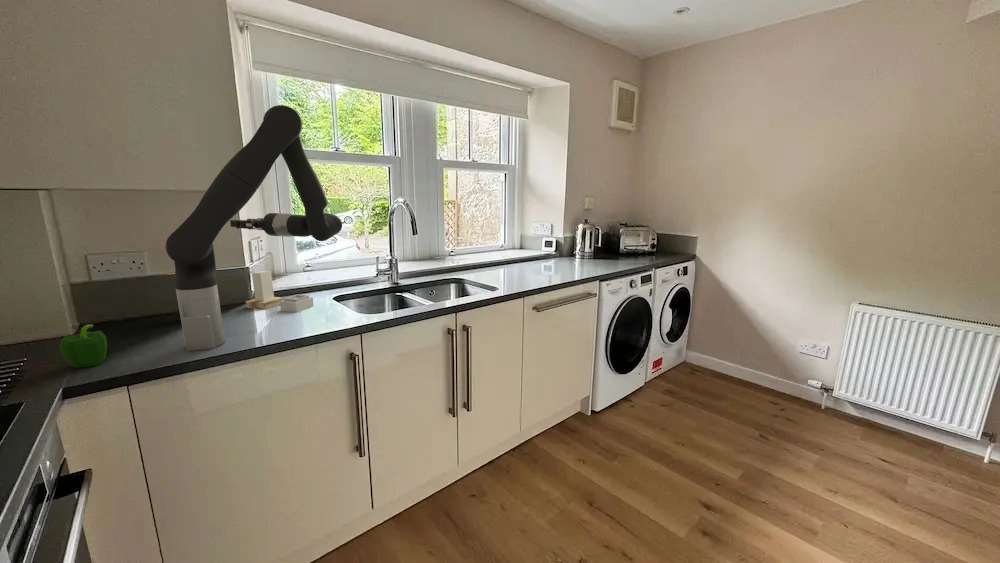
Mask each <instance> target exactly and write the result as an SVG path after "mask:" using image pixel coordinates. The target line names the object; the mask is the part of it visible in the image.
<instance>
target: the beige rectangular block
mask: <svg viewBox="0 0 1000 563" xmlns="http://www.w3.org/2000/svg"><path fill="white" fill-rule="evenodd" d="M283 299H284V301H281V302H280V305H279V306H280V311H281V312H293V313H298V312H301V311H303V310H305V309H309V308H311V307H314V306H315V304H314V297H313V296H310V295H307V294H293V295H291V296H288V297H283Z"/></svg>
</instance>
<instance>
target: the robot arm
mask: <svg viewBox="0 0 1000 563" xmlns="http://www.w3.org/2000/svg"><path fill="white" fill-rule="evenodd" d="M262 119H263V120H262V122H261V123H260V126H259V127H258V129H257V130H256V132H255V133H254V134H253V136H252V138H251V139H250V140H249V141H248V142H247V143H246V145H244V146H243V147H242V148H241V149H240V150H238V151H237V152H236V154H234V155H233V156H232V158H230V160H229V161H228V162H227V163H226V164H225V165H224V166H223V168H221V170H220V172H219V173H218V174H217V175H216V177H215V178H214V179H213V180H212V182H211V183H210V185H209V187H208V188H207V190H206V191H205V193H204V194H203V196H202V197H201V199H200V201H199V202H198V204H197V206H196V207H195V209H194V210H193V211H192V212H191V214H190V215H189V216H188V217H186V219H185V220H184V221H183V222H182V223H181V224H180V225H179V226H178V227H177V228H176V229H175V230H173V232H171V234H170V235H169V236H168V237H167V239H166V240H165V252H166V253H167V256H168V257H169V258H170V259H171V260H172V261H173V262H174V269H175V270H174V272H175V273H174V279H173V282H174V287H175V292H176V294H175V295H176V299H177V303H178V304H177V305H178V310H179V315H180V317H179V318H180V322H181V326H182V333H183V340H184V346H185V349H186V351H187V352H192V351H193V352H194V351H195V352H196V351H201V350H202V351H203V350H212V349H213V350H214V349H215V348H216V347H218V346H221V345H223V344H225V343H226V338H225V329H224V324H223V322H224V321H223V315H222V310H221V302H220V296H219V290H218V282H217V266H216V259H215V258H216V257H215V248H214V244H213V243H214V242H215V240H216V238H217V237H218V235H219V234H220V232H221V230H223V228H224V226H225V225H226V224H227V223H228V222H229V225H230V227H231V228H235V229H238V230H239V229H247V230H256V231H257V230H258V231H264V233H266V235H269V236H273V237H290V238H291V237H298V238H299V237H302V238H305V237H310V236H311V237H312V238H313V239H315V240H316V241H317V242H326V241H327V240H329V239H331V238H332V237H334V236H336V235H337V234H339V233H340V232H341V230H342V229H343V222H342V220H341V218H340V217H338V215H336V214H333V213H328V212H325V208H326V207H327V206H328V205H329V203H328V199H327V196H326V193H325V191H324V189H323V186H322V184H321V181H320V179H319V177H318V175H317V173H316V171H315V169H314V168H313V167H312V165H311V164H312V163H310V161H309V159H308V157H307V155H306V152H305V150H304V146H303V143H302V141H301V133H302V131H303V122H302V118H301V116H300V113H298V112H297V111H296V109H294V108H292V107H290V106H288V105H284V104H283V105H282V104H279V105H274V106H271V107H270V108H269V109H267V110H266V112H265V113H264V114H263V118H262ZM280 155H281V156H282V158H283V160H284V162H285V164H286V166H287V168H288V171H289V174H290V176H291V178H292V181H293V184H294V185H295V188H296V190H297V193H298V195H299V198H300V200H301V202H302V205H303V207H304V214H292V213H284V212H283V213H282V212H281V213H280V212H279V213H278V212H277V213H275V212H269V213H267V214H266V215H264V216H263V218H262V217H258V218H247V219H246V220H245V219H244V220H243V219H239V220H238V219H233V218H234V216H236V215H237V214H238V213H239V212H240V211H241V210H242V209H243V208H244V207H245V205H247V204H248V202H250V199H252V197H253V196H254V194H255V193H256V192H257V190H258V189H259V188H260V187H261V185H262V183H263V182H264V181H265V179H266V177H267V176H268V174H269V172H270V171H271V170H272V167H273V166H274V164H275V162H276V160H277V159H278V158H279V157H280Z"/></svg>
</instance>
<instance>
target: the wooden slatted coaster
mask: <svg viewBox="0 0 1000 563" xmlns="http://www.w3.org/2000/svg"><path fill="white" fill-rule="evenodd" d="M281 301H284V297H282V296H281V297H279V296H274V299H270V300H267V301H255V298H252V299H250V300H246V301H245V305H246V306H245V307H246V309H247V308H248V309H257V310H268V308H269V309H271V307H272V308H274V307H277V306H280V302H281Z"/></svg>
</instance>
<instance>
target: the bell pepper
mask: <svg viewBox="0 0 1000 563" xmlns="http://www.w3.org/2000/svg"><path fill="white" fill-rule="evenodd" d="M93 327H94V324H89V323H88V324H87V323H86V324H85V325H84V326H82V328H80V333H78V334H77V335H65V336H63V338H62V339H61V341H60V343H59V345H58V346H59V351H60V354H61V355H62V357H63V359H64V360H65V362H67V363H68V365H70V366H71V367H72V368H74V369H78V368H85V367H86V368H88V367H94V366H97V365H100V364H103V363H104V361H105V359H106V358H107V351H108V339H107V335H106V334H104V333H103V331H102V330H94V331H87V330H88V329H92V328H93Z"/></svg>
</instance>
